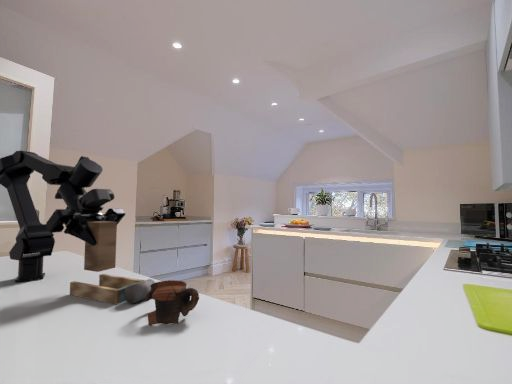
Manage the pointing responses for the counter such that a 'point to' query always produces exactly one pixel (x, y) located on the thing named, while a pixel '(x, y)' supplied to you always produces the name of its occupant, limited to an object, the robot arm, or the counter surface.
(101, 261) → the tall brown box
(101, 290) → the wooden u-shaped frame
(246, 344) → the counter surface
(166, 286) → the pottery mug
